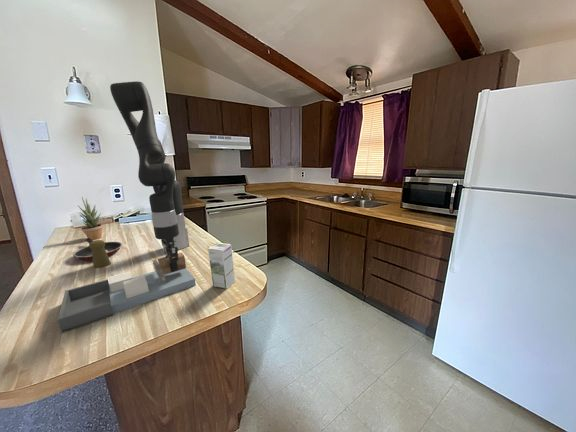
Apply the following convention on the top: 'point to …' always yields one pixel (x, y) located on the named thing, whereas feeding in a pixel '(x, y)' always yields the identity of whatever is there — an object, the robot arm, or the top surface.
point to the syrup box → (221, 265)
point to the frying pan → (87, 252)
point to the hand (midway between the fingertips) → (173, 268)
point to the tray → (85, 305)
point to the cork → (99, 254)
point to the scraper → (167, 266)
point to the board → (152, 289)
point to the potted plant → (91, 223)
